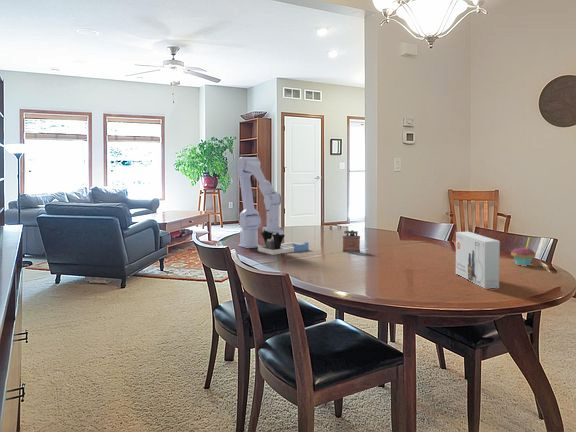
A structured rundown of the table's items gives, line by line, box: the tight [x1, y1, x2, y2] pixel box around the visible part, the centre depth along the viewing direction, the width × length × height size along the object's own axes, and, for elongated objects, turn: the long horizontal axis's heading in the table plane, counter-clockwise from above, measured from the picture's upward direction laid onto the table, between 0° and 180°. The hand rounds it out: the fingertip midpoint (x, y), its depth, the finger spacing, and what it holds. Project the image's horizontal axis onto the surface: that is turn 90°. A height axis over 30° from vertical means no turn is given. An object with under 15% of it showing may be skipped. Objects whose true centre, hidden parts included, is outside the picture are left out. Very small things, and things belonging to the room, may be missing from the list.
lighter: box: [341, 229, 361, 254], centre depth 209 cm, size 8×3×10 cm, turn 84°
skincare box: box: [455, 231, 501, 289], centre depth 153 cm, size 21×5×16 cm, turn 5°
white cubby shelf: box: [257, 241, 310, 256], centre depth 213 cm, size 13×21×4 cm, turn 127°
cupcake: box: [510, 235, 536, 266], centre depth 179 cm, size 9×8×12 cm
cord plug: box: [265, 237, 275, 250], centre depth 209 cm, size 4×5×6 cm
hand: (272, 248), depth 209 cm, fingers open, 7 cm apart
